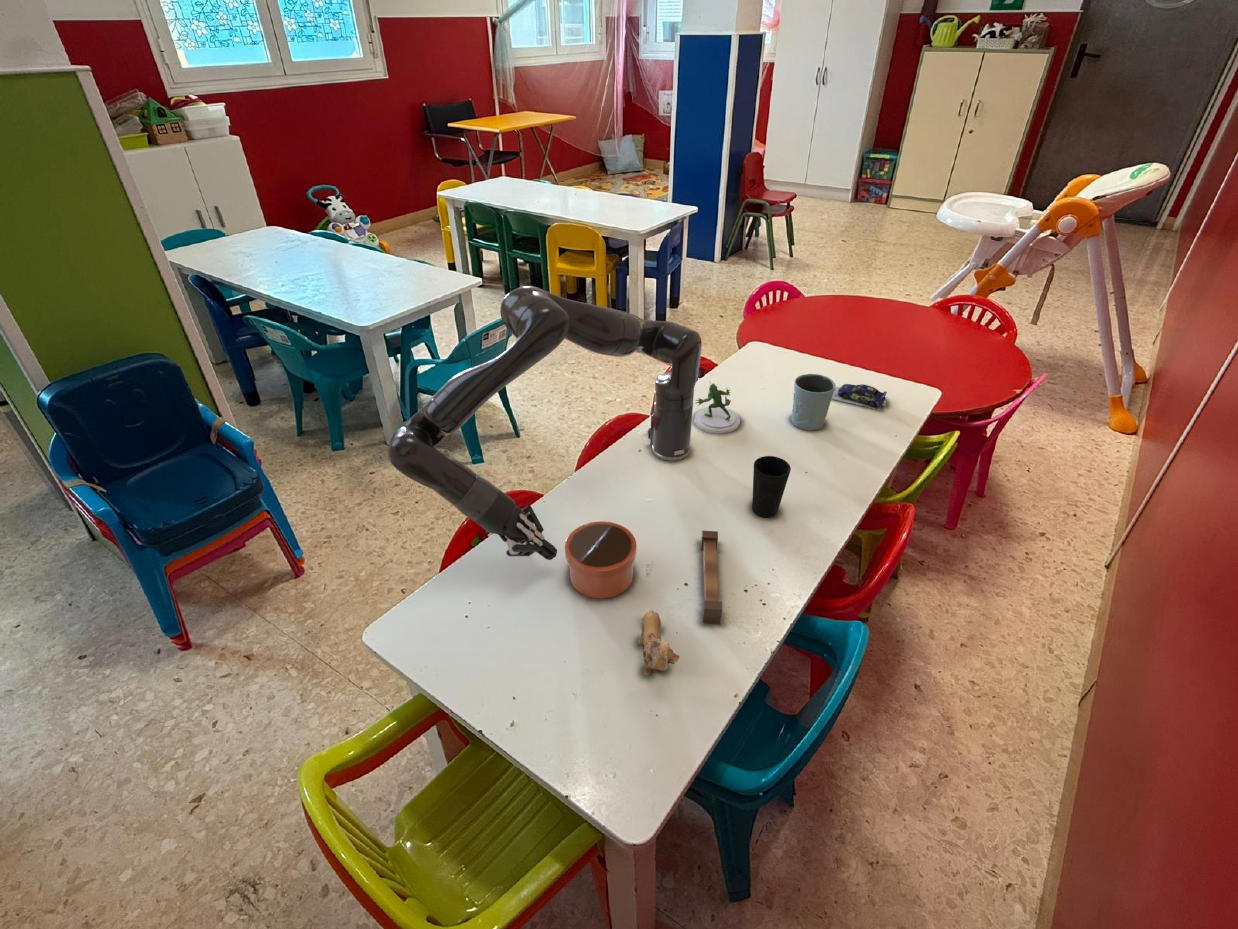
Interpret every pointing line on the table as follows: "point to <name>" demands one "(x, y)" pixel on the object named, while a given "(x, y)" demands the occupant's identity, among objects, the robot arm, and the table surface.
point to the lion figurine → (655, 645)
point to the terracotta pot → (601, 558)
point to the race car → (860, 396)
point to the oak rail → (710, 578)
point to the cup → (769, 485)
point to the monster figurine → (716, 413)
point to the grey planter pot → (811, 400)
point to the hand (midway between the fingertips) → (554, 555)
